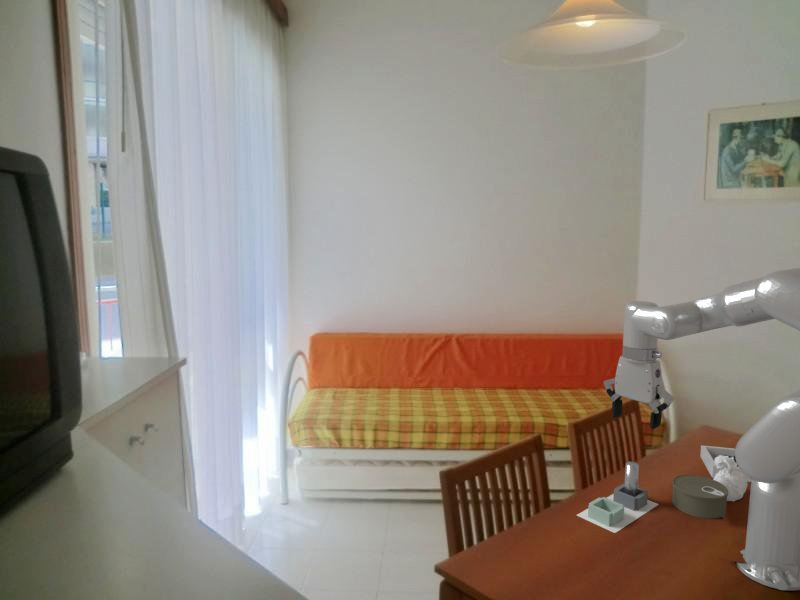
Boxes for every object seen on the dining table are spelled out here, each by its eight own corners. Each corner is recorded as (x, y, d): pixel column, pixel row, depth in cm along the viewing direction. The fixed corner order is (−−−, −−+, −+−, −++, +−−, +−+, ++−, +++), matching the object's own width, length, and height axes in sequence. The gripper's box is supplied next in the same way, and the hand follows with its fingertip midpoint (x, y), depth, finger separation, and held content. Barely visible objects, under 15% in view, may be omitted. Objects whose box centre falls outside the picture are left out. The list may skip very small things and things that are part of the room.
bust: (739, 497, 150) (716, 456, 155) (764, 490, 144) (739, 447, 149) (712, 509, 144) (689, 465, 149) (737, 502, 138) (712, 457, 143)
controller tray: (772, 484, 152) (773, 472, 152) (712, 477, 156) (713, 465, 156) (755, 461, 166) (756, 450, 166) (700, 456, 170) (701, 445, 170)
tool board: (614, 539, 127) (615, 520, 127) (576, 520, 135) (576, 503, 134) (658, 509, 140) (659, 492, 139) (620, 494, 147) (621, 478, 147)
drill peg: (637, 506, 139) (639, 467, 137) (624, 504, 140) (626, 466, 138) (636, 500, 142) (638, 462, 140) (623, 498, 142) (625, 461, 141)
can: (686, 495, 147) (688, 470, 146) (735, 514, 137) (737, 488, 136) (661, 509, 140) (662, 483, 139) (710, 530, 131) (712, 503, 130)
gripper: (683, 357, 131) (678, 428, 133) (614, 344, 144) (611, 409, 147) (667, 363, 126) (662, 436, 129) (598, 349, 139) (594, 415, 142)
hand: (635, 421), depth 138 cm, fingers open, 9 cm apart
